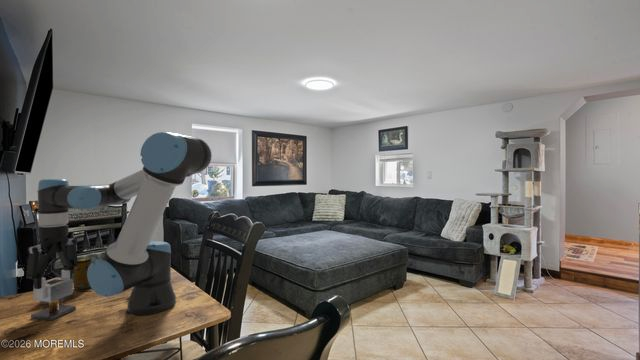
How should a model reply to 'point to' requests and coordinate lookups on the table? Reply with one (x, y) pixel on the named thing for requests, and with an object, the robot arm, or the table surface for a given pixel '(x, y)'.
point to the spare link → (59, 300)
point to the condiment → (82, 275)
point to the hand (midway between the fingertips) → (53, 293)
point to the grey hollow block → (56, 289)
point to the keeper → (53, 311)
